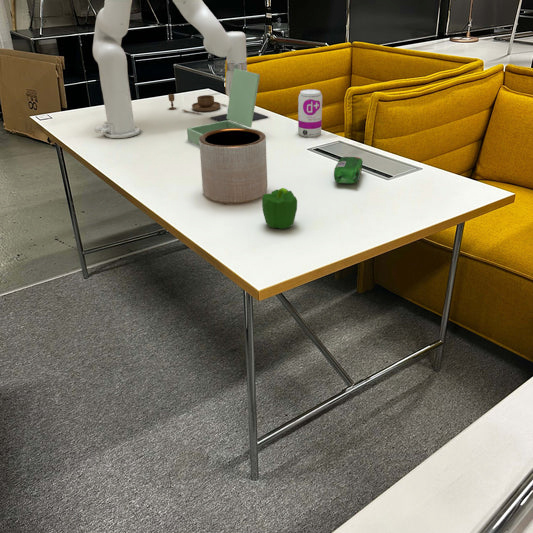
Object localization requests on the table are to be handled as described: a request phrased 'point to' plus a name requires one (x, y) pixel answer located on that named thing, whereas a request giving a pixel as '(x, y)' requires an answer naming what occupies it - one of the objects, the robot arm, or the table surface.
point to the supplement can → (309, 113)
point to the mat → (223, 118)
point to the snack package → (348, 170)
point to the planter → (233, 164)
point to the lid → (243, 97)
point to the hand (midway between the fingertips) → (239, 114)
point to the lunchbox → (209, 129)
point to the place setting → (200, 103)
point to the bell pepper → (279, 208)
